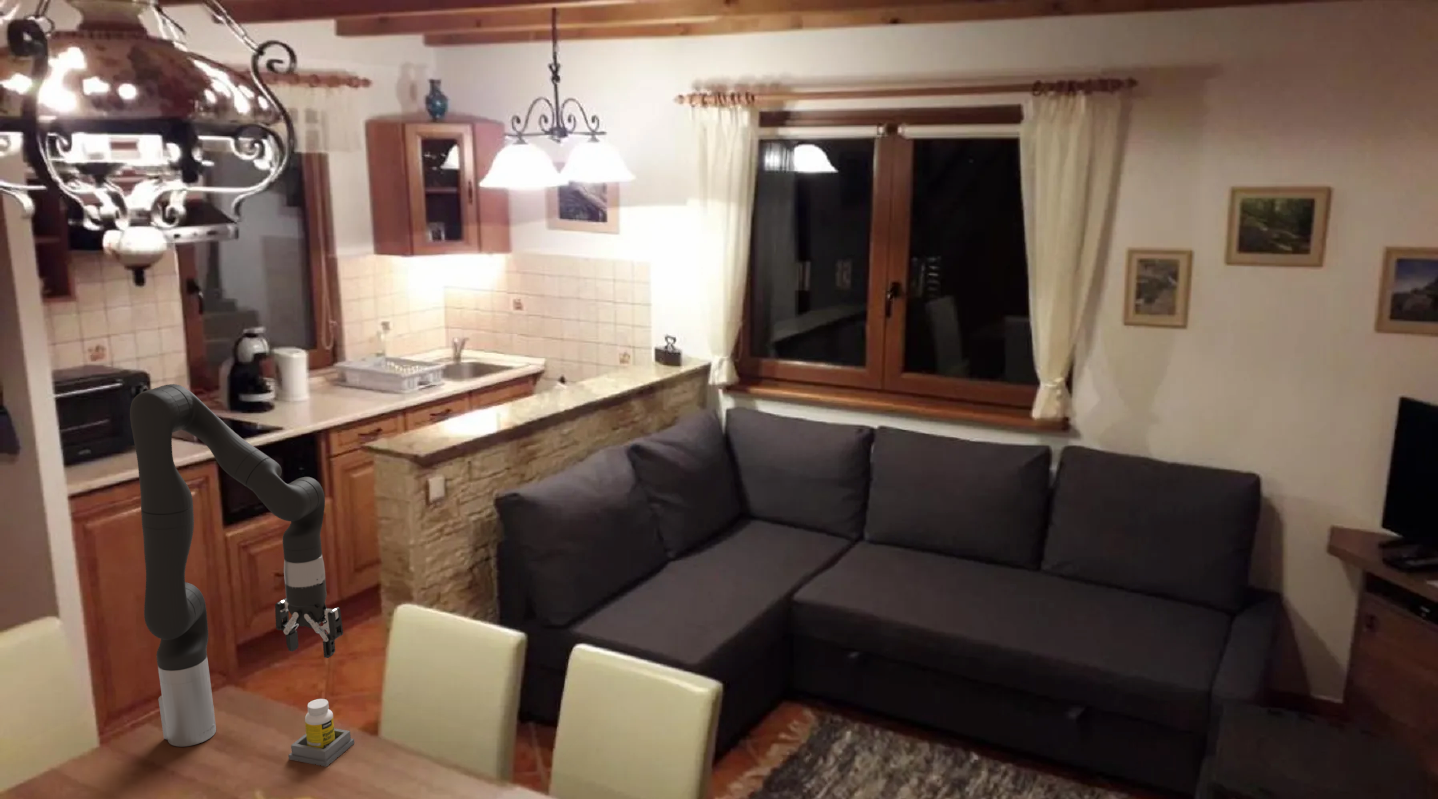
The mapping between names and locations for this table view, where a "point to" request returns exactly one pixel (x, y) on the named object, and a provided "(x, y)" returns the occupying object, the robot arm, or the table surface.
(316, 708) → the supplement bottle
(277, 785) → the table surface
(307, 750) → the square open box
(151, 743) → the table surface
